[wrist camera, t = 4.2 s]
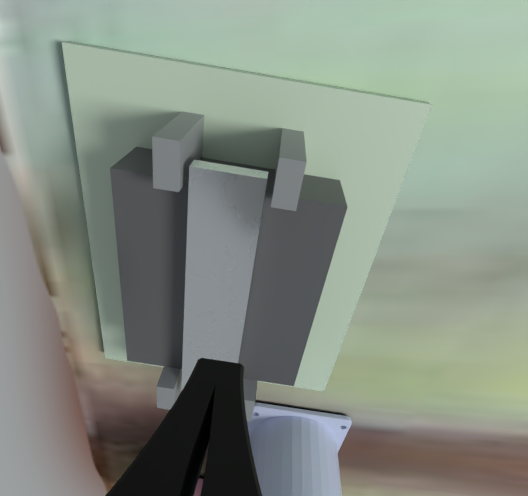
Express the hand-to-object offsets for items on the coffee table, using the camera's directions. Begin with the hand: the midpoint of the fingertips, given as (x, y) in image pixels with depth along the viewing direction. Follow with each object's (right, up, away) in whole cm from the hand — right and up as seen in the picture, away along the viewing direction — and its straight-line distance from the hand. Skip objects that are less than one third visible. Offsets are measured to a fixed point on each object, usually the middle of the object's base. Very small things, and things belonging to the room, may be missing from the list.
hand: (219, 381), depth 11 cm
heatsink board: (-1, +4, +10) cm, 11 cm away
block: (-1, +2, +7) cm, 7 cm away
